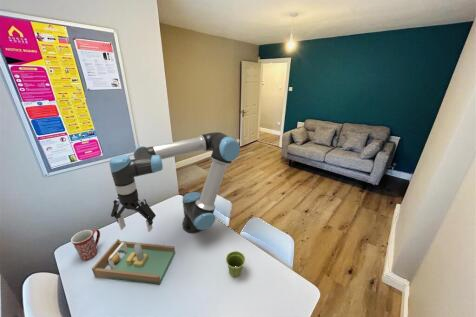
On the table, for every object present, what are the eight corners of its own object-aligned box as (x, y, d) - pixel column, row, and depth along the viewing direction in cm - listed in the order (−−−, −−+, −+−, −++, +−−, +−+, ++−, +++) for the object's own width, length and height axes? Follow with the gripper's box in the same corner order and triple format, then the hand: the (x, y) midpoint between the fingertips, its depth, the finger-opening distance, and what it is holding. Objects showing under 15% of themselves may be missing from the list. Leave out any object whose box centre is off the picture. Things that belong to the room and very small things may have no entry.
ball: (115, 254, 104) (123, 253, 103) (111, 265, 101) (119, 264, 100) (108, 252, 100) (115, 251, 99) (104, 263, 97) (112, 261, 96)
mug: (86, 264, 99) (78, 245, 94) (74, 259, 102) (66, 239, 97) (109, 246, 110) (103, 227, 105) (97, 241, 113) (91, 223, 108)
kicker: (148, 257, 101) (144, 241, 97) (141, 267, 96) (137, 250, 92) (133, 255, 102) (129, 239, 98) (126, 265, 97) (121, 249, 92)
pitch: (175, 253, 107) (173, 240, 103) (159, 284, 90) (156, 271, 87) (119, 247, 110) (116, 235, 106) (95, 277, 93) (89, 263, 90)
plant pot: (247, 266, 100) (247, 254, 97) (241, 283, 92) (241, 270, 88) (230, 261, 103) (230, 249, 99) (223, 276, 94) (222, 264, 91)
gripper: (158, 187, 86) (165, 225, 94) (106, 184, 88) (117, 221, 96) (150, 197, 79) (158, 236, 88) (93, 193, 81) (106, 232, 90)
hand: (136, 228), depth 92 cm, fingers open, 13 cm apart
